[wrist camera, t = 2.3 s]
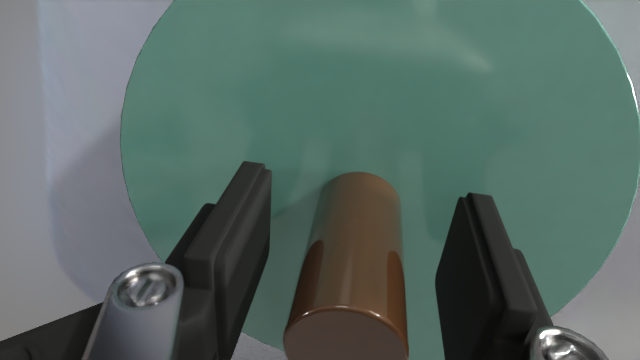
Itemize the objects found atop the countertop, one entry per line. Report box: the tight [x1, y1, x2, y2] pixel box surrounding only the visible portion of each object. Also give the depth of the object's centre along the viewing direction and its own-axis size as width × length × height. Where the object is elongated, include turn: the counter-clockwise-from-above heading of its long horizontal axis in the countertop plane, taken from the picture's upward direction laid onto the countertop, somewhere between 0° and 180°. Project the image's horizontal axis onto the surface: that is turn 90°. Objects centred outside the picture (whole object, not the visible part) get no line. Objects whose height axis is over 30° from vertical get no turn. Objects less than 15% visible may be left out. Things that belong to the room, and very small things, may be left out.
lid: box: [120, 0, 640, 360], centre depth 11 cm, size 14×14×6 cm
